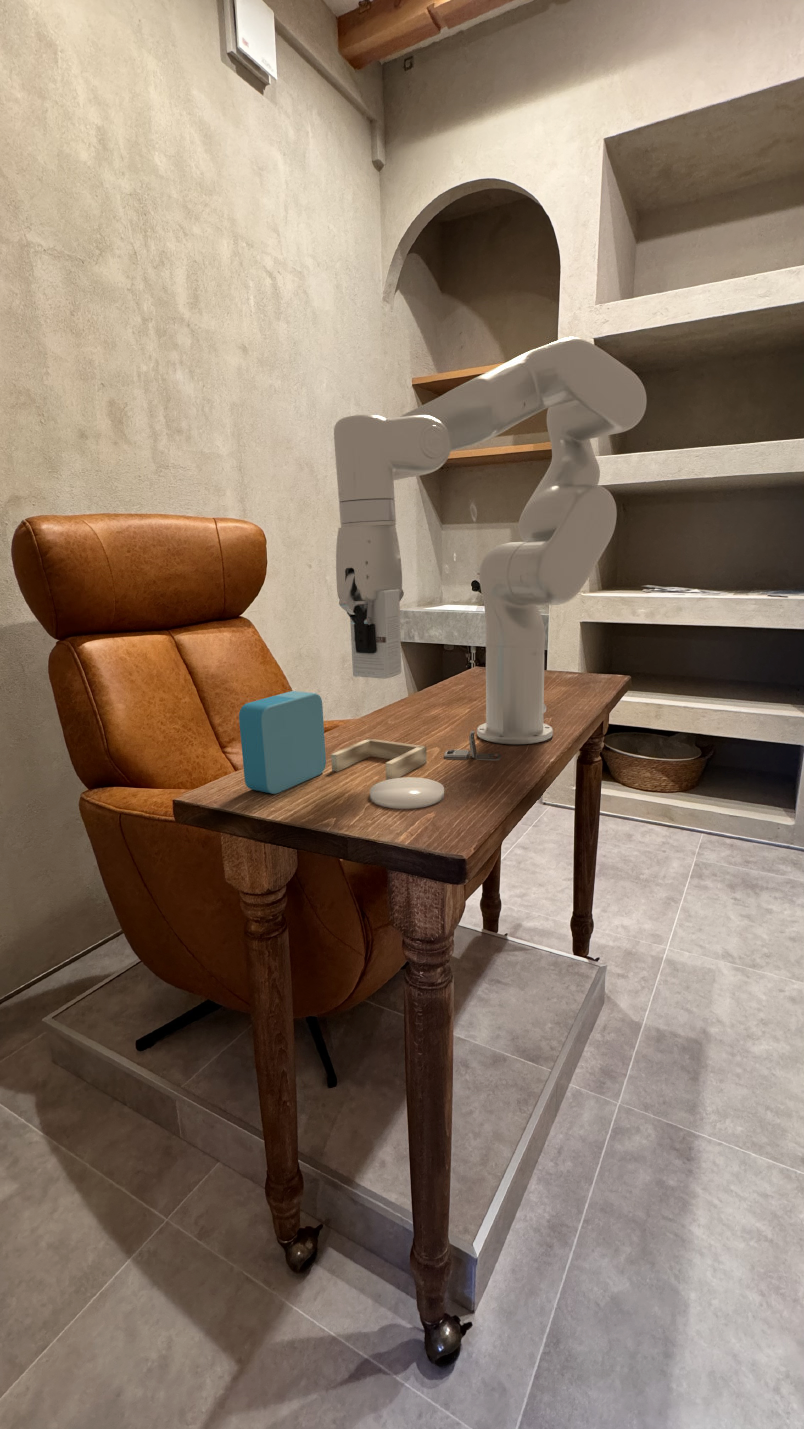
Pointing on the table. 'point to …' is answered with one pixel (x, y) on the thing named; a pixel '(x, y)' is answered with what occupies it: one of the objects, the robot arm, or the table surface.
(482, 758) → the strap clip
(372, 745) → the stand
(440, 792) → the ceramic coaster
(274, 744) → the data package
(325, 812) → the table surface
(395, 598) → the skincare box
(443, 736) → the table surface
